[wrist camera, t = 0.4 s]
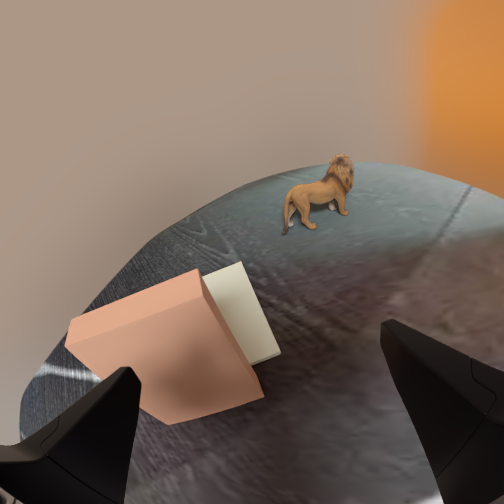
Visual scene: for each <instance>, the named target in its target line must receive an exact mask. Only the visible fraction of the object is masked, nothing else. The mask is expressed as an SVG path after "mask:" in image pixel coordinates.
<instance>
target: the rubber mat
mask: <svg viewBox="0 0 504 504" xmlns="http://www.w3.org/2000/svg"><path fill="white" fill-rule="evenodd" d="M202 278H203V280H204V282H205V284H206V286H207V288H208V289H209V291H210V293H211V295H212V297H213V299H214V301H215V303H216V305H217V306H218V308H219V310H220V312H221V314H222V316H223V317H224V319H225V321H226V323H227V325H228V326H229V328H230V330H231V332H232V334H233V335H234V337H235V339H236V341H237V343H238V344H239V346H240V348H241V350H242V351H243V353H244V355H245V356H246V358H247V360H248V362H249V363H250V365H251V366H252V365H255V364H257V363H260V362H262V361H265V360H267V359H270V358H272V357H275V356H277V355H280V354H281V351H280V349H279V347H278V345H277V342H276V340H275V338H274V336H273V333H272V331H271V329H270V327H269V324H268V322H267V320H266V318H265V315H264V313H263V311H262V308H261V306H260V304H259V302H258V299H257V297H256V295H255V293H254V290H253V288H252V286H251V283H250V281H249V279H248V276H247V274H246V272H245V270H244V267H243V265H242V263H241V262H238V263H236V264H233V265H231V266H228V267H226V268H223V269H221V270H218V271H216V272H213V273H211V274H208V275H205V276H203V277H202Z"/></svg>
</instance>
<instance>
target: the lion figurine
mask: <svg viewBox="0 0 504 504" xmlns="http://www.w3.org/2000/svg"><path fill="white" fill-rule="evenodd" d="M329 163H330V166H329V169H327V174H326V175H325V177H324V178H323V179H321V180H319V181H317V182H314V183H310V184H299V185H296V186H294V187H293V188H291V189H290V190H289V192H288V194H287V196H286V199H285V204H284V216H285V227H284V229H283V232H282V234H286V233H287V230H288V227H291V226H293V225H294V222H293V221H290V217H291V215H292V214H293V213H294V212H295V210H296V209H298V211H299V212H300V214H301V216H302V223H304V224H305V225H306V226H307V227H308V228H309V229H316V228H317V225H316V224H315V223H310V222H309V219H308V216H309V211H310V203H311V204H317V205H319V204H324V203H327V202H329V209H330V210H332V211H333V210H336V209H337V207H336V205H334V199H336V200H337V202H338V204H339V212H340V213H341V214H342V215H348V211H347V210H345V195H346V194H347V193H348V192H349V191H350V189H351V188H352V186H353V177H354V166H353V163H352V161H351V160H350V159H349V156H346V155H341V154H338V155H335V157H334V158H332V159H330V160H329Z"/></svg>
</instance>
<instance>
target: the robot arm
mask: <svg viewBox="0 0 504 504" xmlns="http://www.w3.org/2000/svg"><path fill="white" fill-rule="evenodd" d="M380 343H381V347H382V350H383V353H384V356H385V358H386V361H387V364H388V367H389V370H390V373H391V375H392V378H393V381H394V384H395V386H396V388H397V390H398V392H399V394H400V396H401V399H402V401H403V403H404V405H405V407H406V409H407V411H408V414H409V416H410V418H411V420H412V423H413V425H414V427H415V429H416V432H417V434H418V436H419V439H420V441H421V444H422V446H423V448H424V451H425V453H426V456H427V458H428V461H429V463H430V466H431V469H432V471H433V474H434V476H435V478H436V479H435V480H436V482H437V485H438V488H439V491H440V494H441V497H442V500H443V503H444V504H504V372H503V371H501V370H498V369H496V368H493V367H491V366H489V365H486V364H484V363H482V362H480V361H478V360H476V359H474V358H471V359H470V356H468V355H466V354H463V353H461V352H459V351H457V350H455V349H453V348H451V347H449V346H447V345H445V344H443V343H441V342H439V341H437V340H435V339H433V338H431V337H429V336H427V335H425V334H423V333H421V332H419V331H417V330H415V329H413V328H411V327H409V326H406V325H404V324H402V323H400V322H398V321H396V320H394V319H390V320H387V321H384V322H382V323H381V336H380ZM141 389H142V384H141V381H140V379H139V378H138V376H137V375H136V373H135V372H134V370H133V369H132V368H131V367H129V366H123V367H120V368H118V369H117V370H116V371H115V372H113V373H112V374H111V375H110V376H108V377H107V378H106V379H105V380H103V381H102V382H101V383H100V384H98V385H97V386H96V387H94V388H93V389H92V390H91V391H89V392H88V393H87V394H86V395H84V396H83V397H82V398H81V399H79V400H78V401H77V402H75V403H74V404H73V405H72V406H70V407H69V408H68V409H66V410H65V411H64V412H63V413H61V414H60V415H59V416H57V417H56V418H55V419H54V420H52V421H51V422H50V423H48V424H47V425H46V426H44V427H43V428H41V429H40V430H38V431H37V432H35V433H34V434H32V435H31V436H29V437H28V438H26V439H24V440H23V441H21V442H20V443H18V444H15V445H11V446H4V445H0V504H124V498H125V490H126V483H127V477H128V470H129V464H130V458H131V453H132V447H133V442H134V437H135V432H136V427H137V422H138V415H139V406H140V397H141Z"/></svg>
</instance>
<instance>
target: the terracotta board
mask: <svg viewBox="0 0 504 504" xmlns="http://www.w3.org/2000/svg"><path fill="white" fill-rule="evenodd" d="M65 347H66V348H67V349H68V350H69V351H70V352H71V353H72V354H73V355H74V356H75V357H76V358H78V359H79V360H80V361H81V362H82V363H83V364H84V365H85V366H87V367H88V368H89V369H90V370H91V371H92V372H94V373H95V374H96V375H97V376H98V377H100V378H101V379H102V380H105V379H106V378H107V377H108V376H110V375H111V374H112V373H113V372H115V371H116V370H117V369H118V368H120V367H123V366H129V367H131V368H132V369H133V370H134V372H135V373H136V375H137V376H138V378H139V379H140V381H141V384H142V389H141V397H140V406H139V407H140V408H142V409H143V410H145V411H146V412H148V413H149V414H151V415H152V416H154V417H155V418H157V419H159V420H160V421H162V422H163V423H165V424H167V425H171V424H175V423H180V422H184V421H188V420H192V419H196V418H200V417H203V416H207V415H210V414H214V413H217V412H221V411H224V410H227V409H230V408H234V407H237V406H240V405H243V404H246V403H249V402H251V401H254V400H257V399H260V398H263V397H264V394H263V391H262V389H261V386H260V383H259V380H258V378H257V375H256V373H255V372H254V370H253V368H252V367H251V365H250V363H249V362H248V360H247V358H246V356H245V355H244V353H243V351H242V350H241V348H240V346H239V344H238V343H237V341H236V339H235V337H234V335H233V334H232V332H231V330H230V328H229V326H228V325H227V323H226V321H225V319H224V317H223V316H222V314H221V312H220V310H219V308H218V306H217V305H216V303H215V301H214V299H213V297H212V295H211V293H210V291H209V289H208V288H207V286H206V284H205V282H204V280H203V278H202V276H201V274H200V272H199V270H198V268H197V269H195V270H192V271H190V272H187V273H185V274H182V275H180V276H177V277H175V278H172V279H170V280H167V281H165V282H163V283H160V284H158V285H155V286H153V287H150V288H148V289H145V290H143V291H140V292H138V293H135V294H133V295H130V296H128V297H125V298H123V299H120V300H118V301H115V302H113V303H110V304H108V305H106V306H103V307H101V308H98V309H96V310H93V311H91V312H88V313H86V314H83V315H81V316H78V317H76V318H74V319H72V320H71V324H70V327H69V331H68V335H67V339H66V343H65Z"/></svg>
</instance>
